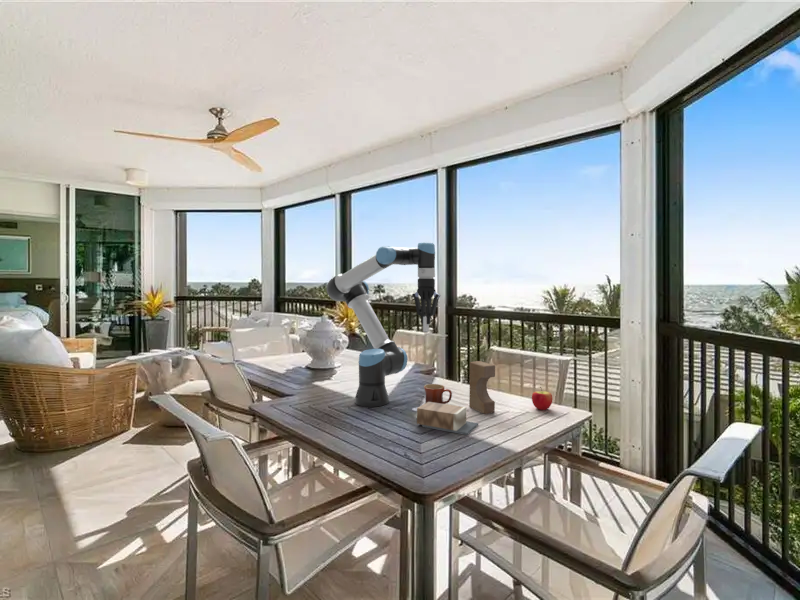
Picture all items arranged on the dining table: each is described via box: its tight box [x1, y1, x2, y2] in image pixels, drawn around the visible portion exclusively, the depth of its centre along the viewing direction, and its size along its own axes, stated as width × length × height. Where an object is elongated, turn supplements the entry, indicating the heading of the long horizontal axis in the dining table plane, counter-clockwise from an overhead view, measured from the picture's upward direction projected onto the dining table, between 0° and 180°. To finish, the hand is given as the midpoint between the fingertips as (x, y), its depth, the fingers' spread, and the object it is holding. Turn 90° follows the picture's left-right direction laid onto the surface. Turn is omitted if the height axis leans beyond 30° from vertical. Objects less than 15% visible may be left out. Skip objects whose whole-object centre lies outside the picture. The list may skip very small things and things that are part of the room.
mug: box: [423, 383, 453, 404], centre depth 187 cm, size 12×9×10 cm
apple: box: [531, 386, 553, 411], centre depth 190 cm, size 8×8×10 cm
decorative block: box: [468, 360, 496, 415], centre depth 188 cm, size 11×6×20 cm, turn 25°
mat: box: [421, 420, 479, 436], centre depth 169 cm, size 18×12×1 cm, turn 61°
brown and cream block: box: [416, 402, 467, 431], centre depth 169 cm, size 6×10×16 cm
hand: (426, 331), depth 196 cm, fingers closed
